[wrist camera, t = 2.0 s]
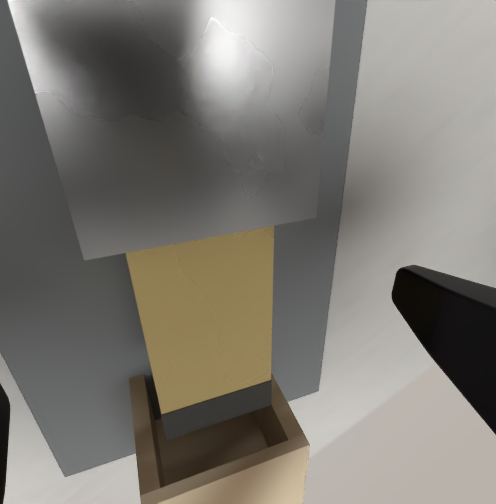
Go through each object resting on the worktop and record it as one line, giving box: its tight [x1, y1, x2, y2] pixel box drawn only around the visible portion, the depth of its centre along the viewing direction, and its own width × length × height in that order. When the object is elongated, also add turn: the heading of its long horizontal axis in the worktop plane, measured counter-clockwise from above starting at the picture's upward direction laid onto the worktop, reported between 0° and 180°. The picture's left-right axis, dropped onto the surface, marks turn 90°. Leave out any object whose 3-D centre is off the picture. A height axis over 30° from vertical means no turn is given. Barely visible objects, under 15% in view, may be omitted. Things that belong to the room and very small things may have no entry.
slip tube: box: [126, 226, 274, 440], centre depth 9 cm, size 3×14×3 cm, turn 1°
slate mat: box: [0, 0, 367, 477], centre depth 13 cm, size 13×22×1 cm, turn 1°
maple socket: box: [129, 372, 310, 504], centre depth 15 cm, size 6×4×5 cm
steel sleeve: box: [7, 0, 336, 260], centre depth 7 cm, size 5×8×5 cm, turn 1°
